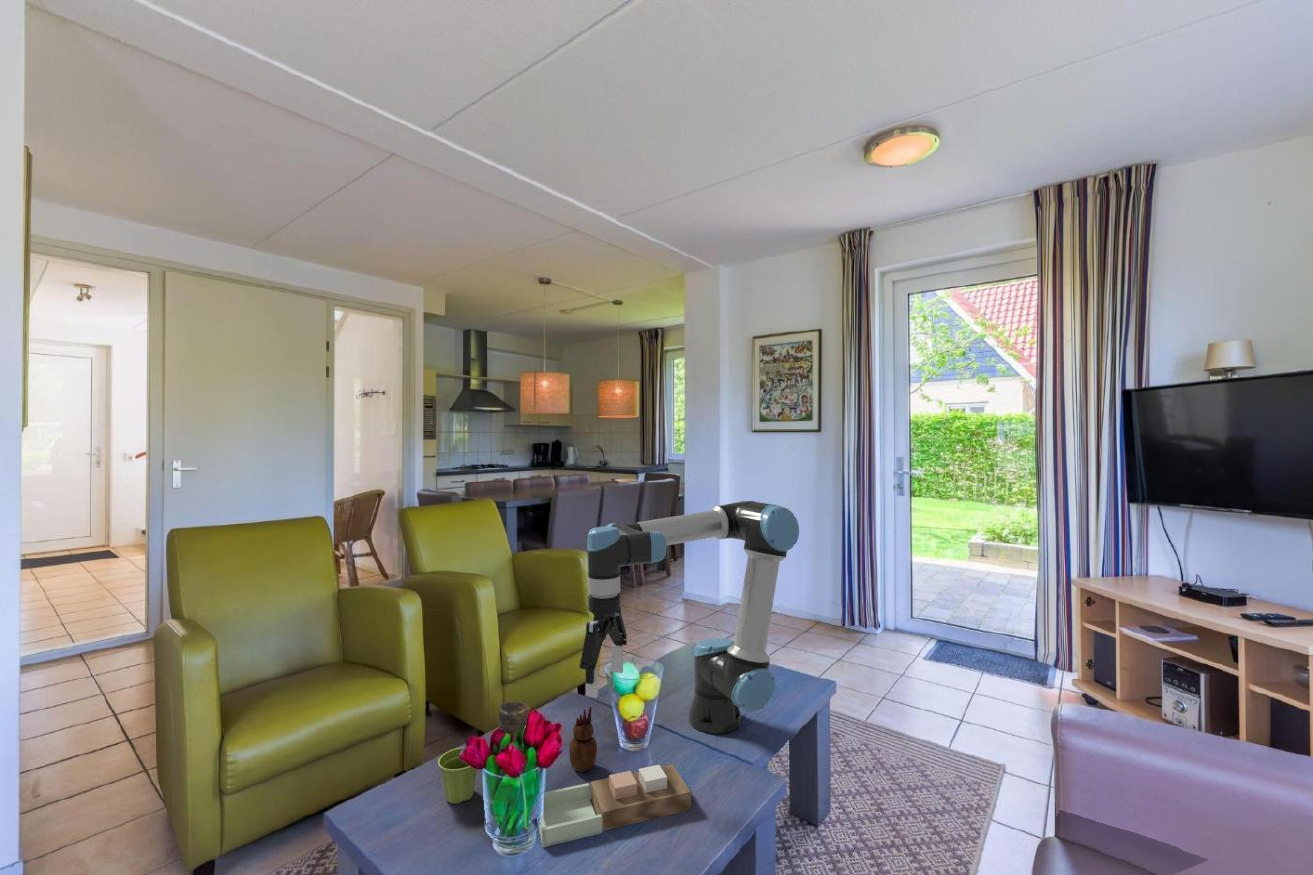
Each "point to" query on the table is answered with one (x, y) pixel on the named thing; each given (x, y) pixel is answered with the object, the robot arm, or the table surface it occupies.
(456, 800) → the plant pot
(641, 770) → the tile
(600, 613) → the robot arm
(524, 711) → the candle
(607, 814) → the brown box sleeve
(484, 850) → the table surface
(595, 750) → the wooden figurine
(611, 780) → the tile
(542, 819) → the tray
